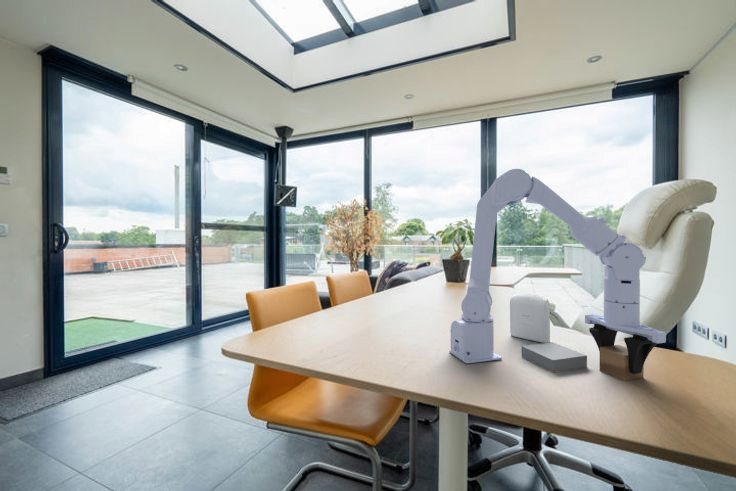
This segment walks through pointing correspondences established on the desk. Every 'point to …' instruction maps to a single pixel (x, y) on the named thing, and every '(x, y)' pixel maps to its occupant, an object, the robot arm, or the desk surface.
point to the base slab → (554, 357)
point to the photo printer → (530, 317)
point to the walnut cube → (617, 363)
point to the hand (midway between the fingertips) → (620, 367)
